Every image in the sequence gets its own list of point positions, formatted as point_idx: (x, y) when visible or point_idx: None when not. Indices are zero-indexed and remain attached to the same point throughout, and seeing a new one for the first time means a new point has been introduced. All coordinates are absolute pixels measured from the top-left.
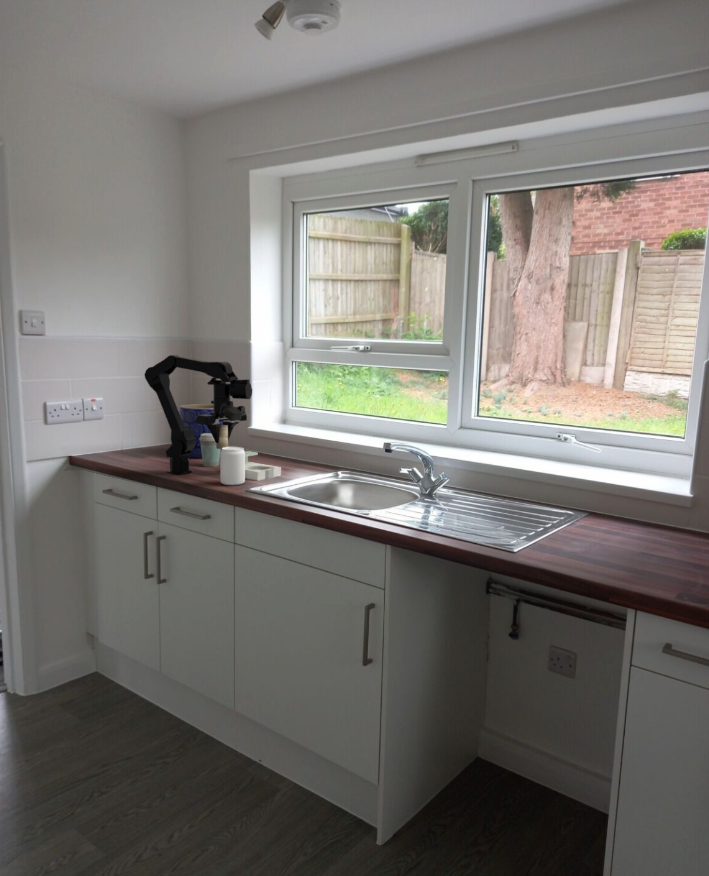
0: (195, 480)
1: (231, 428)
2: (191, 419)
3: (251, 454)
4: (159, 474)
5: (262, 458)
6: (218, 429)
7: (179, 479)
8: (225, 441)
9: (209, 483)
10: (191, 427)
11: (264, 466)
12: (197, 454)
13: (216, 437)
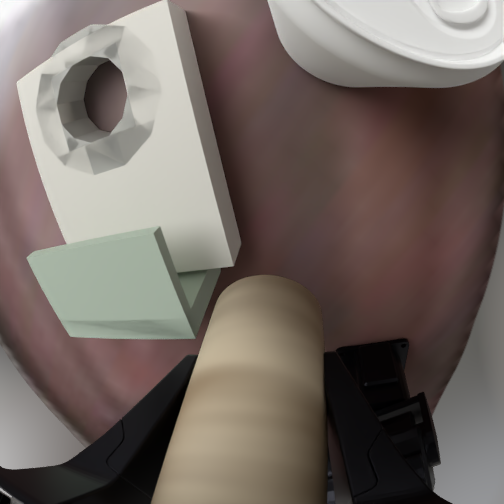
0: (440, 214)
1: (101, 460)
2: None
3: (59, 248)
4: (431, 370)
5: (36, 355)
6: (368, 492)
7: (462, 272)
8: (257, 328)
9: (439, 111)
10: None
11: (59, 135)
12: None
13: (362, 401)
